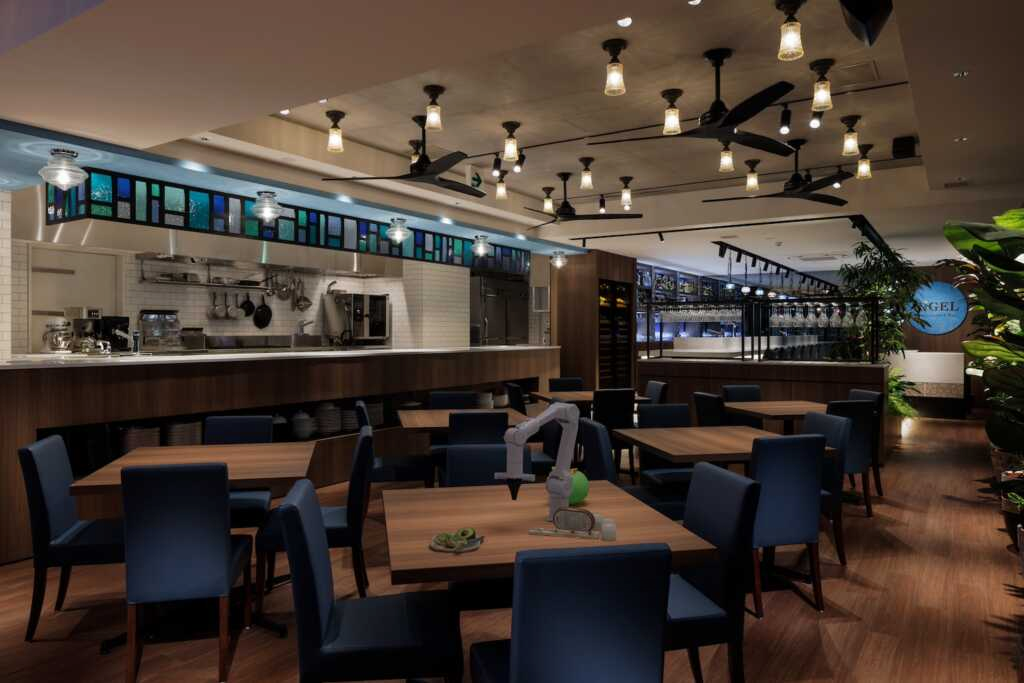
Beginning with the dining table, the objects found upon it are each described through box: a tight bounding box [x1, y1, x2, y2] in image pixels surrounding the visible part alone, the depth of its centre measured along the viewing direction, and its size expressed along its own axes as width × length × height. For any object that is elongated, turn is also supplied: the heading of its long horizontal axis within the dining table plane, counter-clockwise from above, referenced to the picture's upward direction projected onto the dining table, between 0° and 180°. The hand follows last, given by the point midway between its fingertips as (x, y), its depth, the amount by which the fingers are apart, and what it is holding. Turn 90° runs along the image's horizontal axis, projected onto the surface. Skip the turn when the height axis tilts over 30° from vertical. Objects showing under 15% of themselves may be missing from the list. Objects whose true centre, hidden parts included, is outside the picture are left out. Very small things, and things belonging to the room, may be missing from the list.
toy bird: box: [546, 466, 590, 505], centre depth 288 cm, size 18×17×15 cm
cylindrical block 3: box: [600, 522, 617, 542], centre depth 237 cm, size 5×5×5 cm
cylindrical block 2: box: [599, 516, 616, 535], centre depth 244 cm, size 5×5×5 cm
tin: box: [552, 507, 595, 532], centre depth 245 cm, size 15×3×8 cm, turn 70°
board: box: [528, 527, 600, 540], centre depth 241 cm, size 5×24×1 cm, turn 77°
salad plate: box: [429, 526, 486, 553], centre depth 227 cm, size 19×18×5 cm
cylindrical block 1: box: [591, 512, 604, 531], centre depth 250 cm, size 5×5×5 cm
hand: (514, 499), depth 248 cm, fingers closed
